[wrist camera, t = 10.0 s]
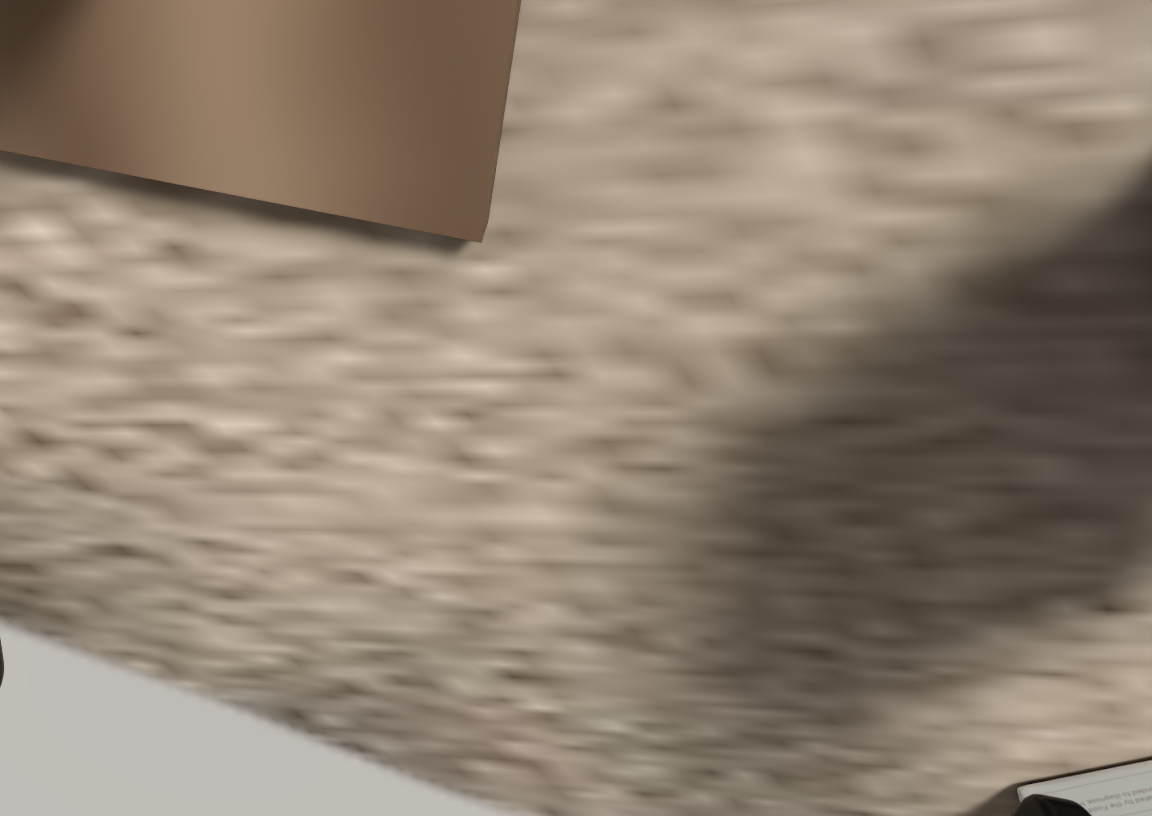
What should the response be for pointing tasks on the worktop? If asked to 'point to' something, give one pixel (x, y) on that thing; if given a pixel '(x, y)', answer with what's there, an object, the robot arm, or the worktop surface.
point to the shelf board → (271, 99)
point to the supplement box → (1103, 790)
